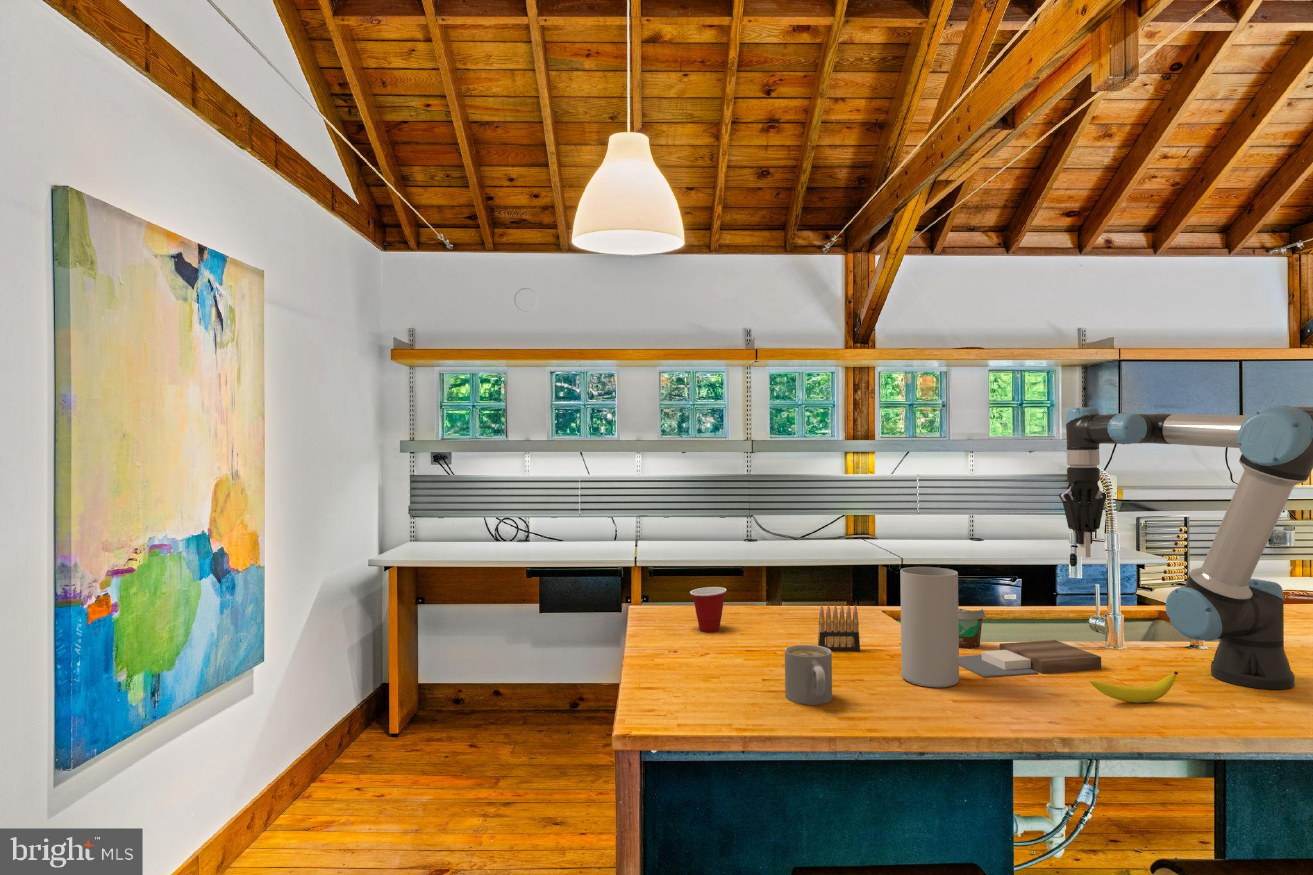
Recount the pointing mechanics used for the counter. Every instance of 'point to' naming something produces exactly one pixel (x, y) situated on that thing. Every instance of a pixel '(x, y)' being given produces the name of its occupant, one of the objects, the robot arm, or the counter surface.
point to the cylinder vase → (929, 626)
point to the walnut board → (1054, 656)
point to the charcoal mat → (989, 667)
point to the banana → (1136, 690)
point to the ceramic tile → (1006, 659)
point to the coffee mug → (808, 674)
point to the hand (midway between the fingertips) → (1084, 556)
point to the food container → (970, 628)
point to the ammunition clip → (839, 630)
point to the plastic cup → (709, 607)
